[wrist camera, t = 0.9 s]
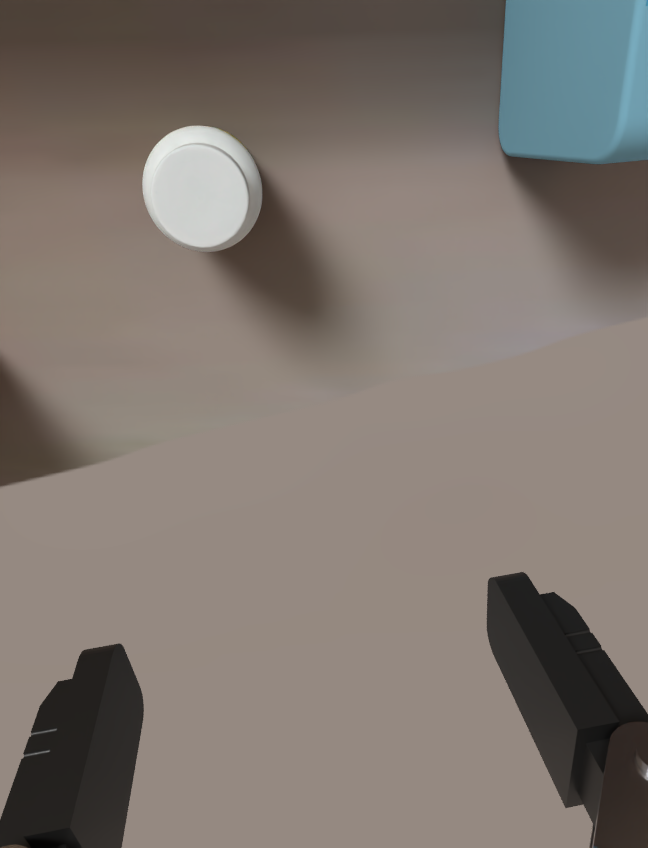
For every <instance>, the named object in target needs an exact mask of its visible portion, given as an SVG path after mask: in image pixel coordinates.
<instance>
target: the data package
mask: <svg viewBox="0 0 648 848" xmlns="http://www.w3.org/2000/svg"><path fill="white" fill-rule="evenodd" d="M499 139H500V144H501V147H502V149H503V151H504V152H505V153H506V154H507V155H508V156H513V157H524V158H535V159H545V160H556V161H567V162H577V163H588V164H608V163H618V162H629V161H640V160H648V0H506V11H505V27H504V44H503V61H502V77H501V94H500V110H499Z"/></svg>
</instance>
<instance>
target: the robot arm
mask: <svg viewBox="0 0 648 848" xmlns="http://www.w3.org/2000/svg"><path fill="white" fill-rule="evenodd" d="M487 601H488V602H487V632H488V638H489V642H490V646H491V649H492V652H493V654H494V657H495V659H496V661H497V663H498V665H499V667H500V669H501V672H502V674H503V676H504V678H505V680H506V682H507V684H508V686H509V689H510V691H511V693H512V695H513V697H514V699H515V701H516V703H517V705H518V708H519V710H520V712H521V714H522V716H523V718H524V721H525V722H526V725H527V727H528V729H529V731H530V733H531V735H532V737H533V739H534V742H535V744H536V746H537V748H538V750H539V752H540V755H541V757H542V759H543V761H544V763H545V765H546V767H547V769H548V772H549V774H550V776H551V778H552V780H553V782H554V784H555V786H556V788H557V791H558V793H559V795H560V797H561V799H562V801H563V803H564V805H565V807H566V808H568V807H573V806H578V805H582V804H584V806H585V808H586V810H587V812H588V814H589V816H590V818H591V820H592V822H593V826H592V833H591V838H590V845H589V848H648V714H647V712H646V711H645V709H644V708H643V706H642V705H641V704H640V702H639V701H638V699H637V698H636V696H635V695H634V693H633V692H632V690H631V689H630V688H629V686H628V685H627V683H626V682H625V680H624V679H623V677H622V676H621V675H620V673H619V672H618V670H617V669H616V667H615V666H614V664H613V663H612V661H611V660H610V658H609V657H608V655H607V654H606V652H605V651H604V650H602V649H601V645H600V644H599V642H598V641H597V639H596V638H595V636H594V635H593V634H592V633H590V630H589V628H588V626H587V625H586V623H585V622H584V620H583V619H582V617H581V616H580V614H579V613H578V612H577V610H576V609H575V608H574V607H573V606H572V605H570V604H569V603H568V602H566V601H565V600H564V599H562V598H561V597H560V596H558V595H557V594H555V593H554V592H552V593H546V594H541V595H539V593H538V591H537V590H536V588H535V587H534V585H533V584H532V582H531V580H530V579H529V577H528V576H527V575H526V574H525V573H523V572H520V573H515V574H509V575H504V576H498V577H493V578H490V579H489V581H488V600H487ZM143 712H144V708H143V696H142V692H141V688H140V686H139V683H138V681H137V678H136V676H135V674H134V671H133V669H132V667H131V664H130V661H129V659H128V657H127V654H126V652H125V649H124V647H123V646H122V645H121V644H114V645H109V646H103V647H98V648H93V649H87V650H84V651H82V653H81V654H80V656H79V659H78V662H77V665H76V668H75V672H74V675H73V678H72V679H69V680H64V681H58V682H57V684H56V685H55V687H54V688H53V689H52V691H51V692H50V693H49V695H48V696H47V697H46V699H45V700H44V701H43V703H42V704H41V705H40V708H39V711H38V713H37V717H36V719H35V722H34V725H33V728H32V731H31V737H29V739H28V742H27V745H26V748H25V751H24V758H23V759H21V762H20V765H19V768H18V771H17V774H16V777H15V779H14V782H13V785H12V788H11V791H10V793H9V796H8V799H7V802H6V805H5V808H4V811H3V813H2V816H1V819H0V848H121V847H122V841H123V835H124V829H125V823H126V818H127V812H128V806H129V800H130V794H131V788H132V782H133V776H134V770H135V764H136V758H137V752H138V747H139V741H140V735H141V728H142V723H143Z"/></svg>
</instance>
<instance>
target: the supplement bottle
mask: <svg viewBox="0 0 648 848" xmlns="http://www.w3.org/2000/svg"><path fill="white" fill-rule="evenodd" d="M142 187H143V196H144V200H145V204H146V207H147V210H148V212H149V214H150V216H151V218H152V220H153V221H154V223H155V224H156V226H157V227H158V228H159V229H160V231H161V232H162V233H163V234H164V235H165V236H167V237H168V238H169V239H170V240H172V241H173V242H175V243H176V244H178V245H180V246H182V247H184V248H187V249H190V250H194V251H199V252H214V251H220V250H223V249H226V248H229V247H231V246H233V245H235V244H236V243H238V242H239V241H241V240H242V239H243V238H244V237H245V236H246V235H247V234H248V233H249V232H250V230H251V229H252V228H253V226H254V224H255V223H256V221H257V218H258V216H259V213H260V210H261V205H262V183H261V178H260V174H259V171H258V169H257V166H256V164H255V161H254V159H253V157H252V156H251V154H250V153H249V152H248V150H247V149H246V148H245V146H244V145H243V144H242V143H241V142H240V141H239V140H238V139H237V138H235V137H234V136H233V135H231V134H229V133H228V132H226V131H223V130H221V129H218V128H214V127H208V126H188V127H184V128H181V129H178V130H175V131H173V132H171V133H169V134H168V135H167V136H165V137H164V138H163V139H162V140H161V141H159V142H158V144H157V145H156V146H155V147H154V149H153V150H152V152H151V153H150V155H149V157H148V159H147V162H146V165H145V168H144V172H143V182H142Z"/></svg>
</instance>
